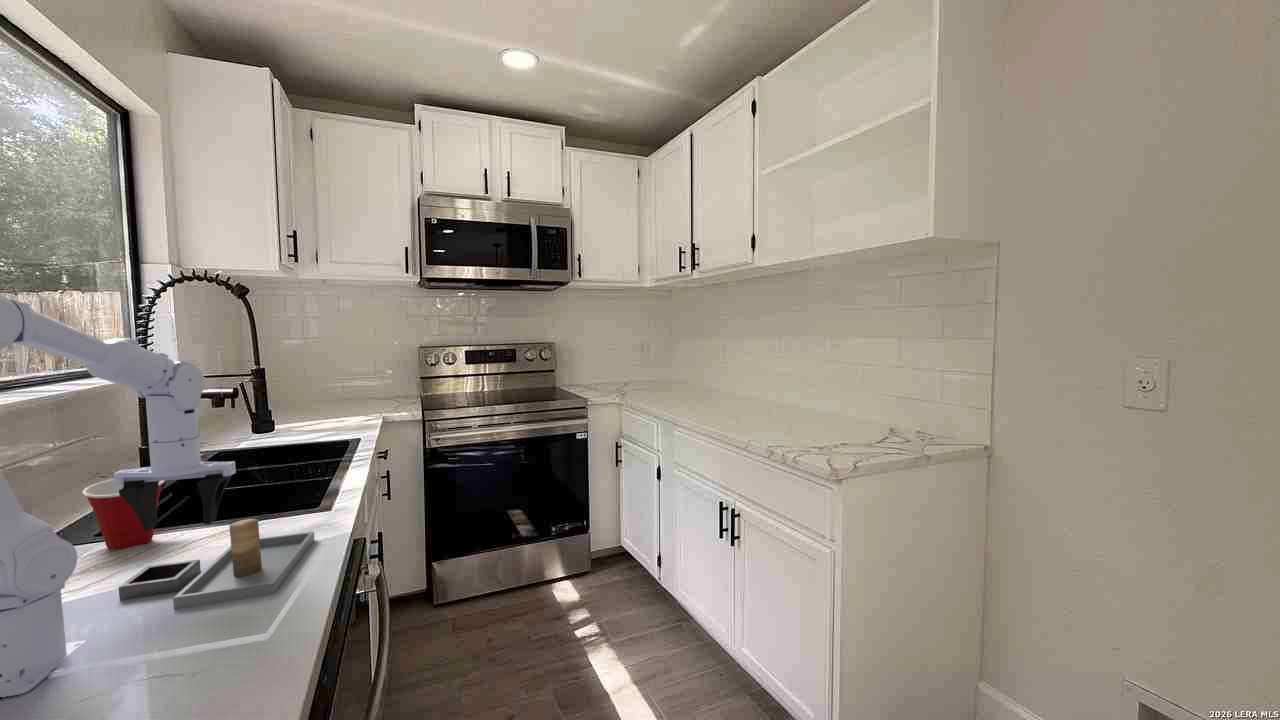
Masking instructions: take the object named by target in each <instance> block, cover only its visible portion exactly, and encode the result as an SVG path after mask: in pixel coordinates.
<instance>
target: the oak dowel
mask: <svg viewBox="0 0 1280 720" xmlns="http://www.w3.org/2000/svg"><path fill="white" fill-rule="evenodd" d="M259 528H260V527H259V520H258V519H257V518H248V519H241V520H238V521H236V522H235V521H234V522H232V523H231V524H230V525H229V536H230V537H229V538H230V546H231V550H232V562H233V574H234V577H245V576H249V575H252V574H255V573H257V572H259V571H260V570H261V569H262V563H261V551H260V538H261V537H260V529H259Z"/></svg>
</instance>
